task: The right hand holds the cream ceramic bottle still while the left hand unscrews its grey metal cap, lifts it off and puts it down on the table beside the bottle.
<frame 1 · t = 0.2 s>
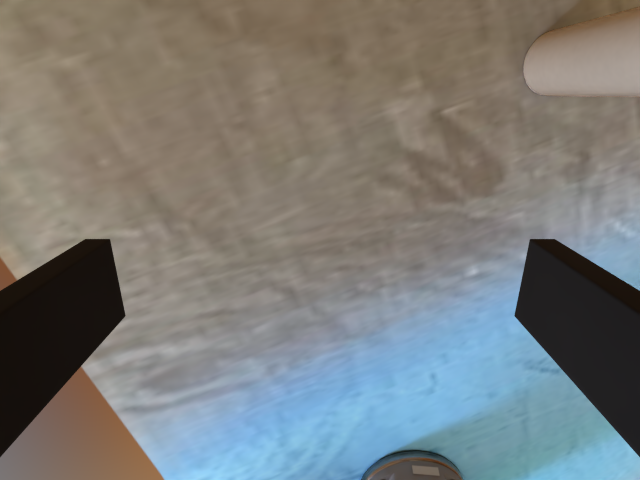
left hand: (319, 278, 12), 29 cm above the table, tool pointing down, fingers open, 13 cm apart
bottle: (554, 63, 37), on the table
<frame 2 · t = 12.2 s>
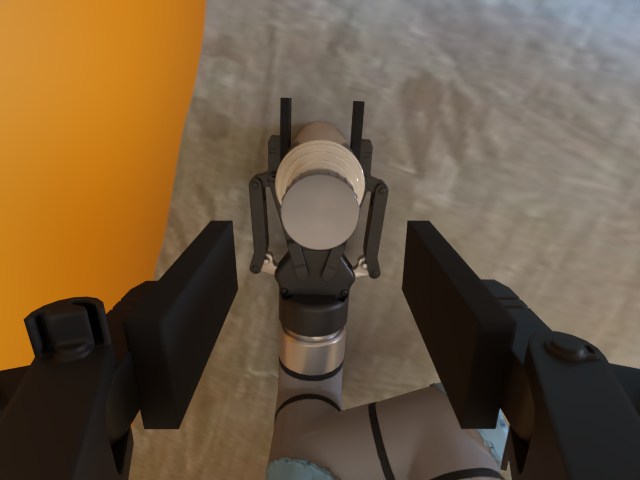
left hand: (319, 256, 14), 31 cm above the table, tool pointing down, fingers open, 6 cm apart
right hand: (322, 100, 35), fingers closed on bottle, 6 cm apart
bottle: (320, 149, 43), on the table, touching right hand
cap: (320, 211, 19), point 25 cm above the table, screwed on, not yet turned
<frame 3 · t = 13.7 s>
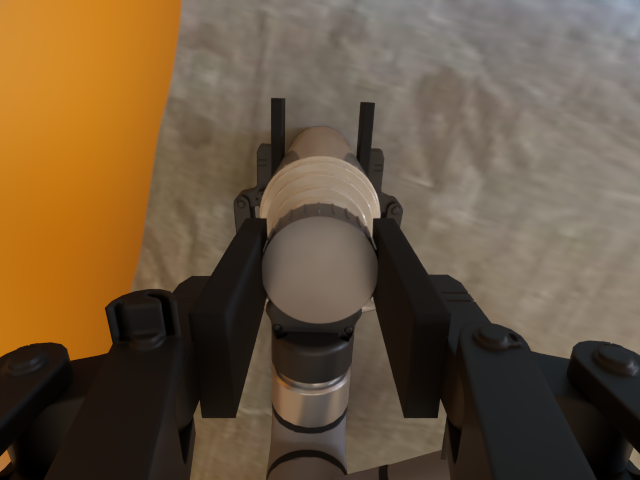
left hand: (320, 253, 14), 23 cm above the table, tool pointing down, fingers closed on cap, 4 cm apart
bottle: (319, 158, 36), on the table, touching right hand
cap: (319, 269, 13), point 25 cm above the table, screwed on, not yet turned, touching left hand
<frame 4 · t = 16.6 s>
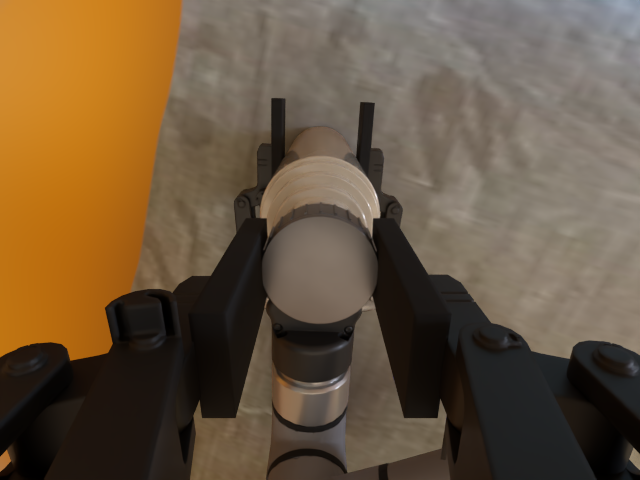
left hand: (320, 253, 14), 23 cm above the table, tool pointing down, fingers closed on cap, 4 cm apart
bottle: (319, 158, 36), on the table, touching right hand
cap: (319, 269, 13), point 25 cm above the table, turned 99° so far, risen 0.1 cm, still on its thread, touching left hand
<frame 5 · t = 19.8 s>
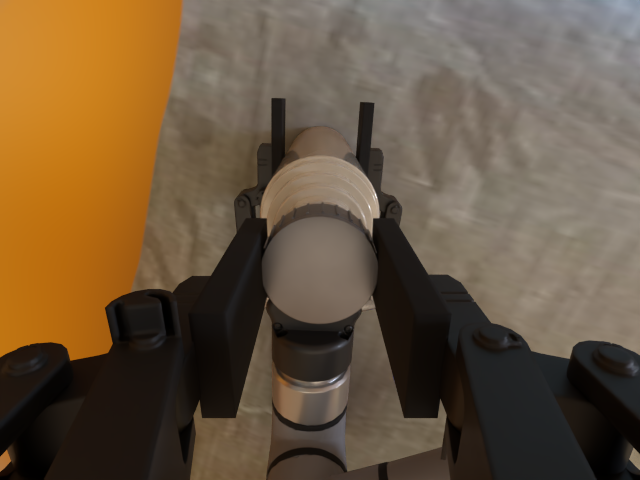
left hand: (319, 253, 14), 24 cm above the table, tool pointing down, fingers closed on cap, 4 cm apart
bottle: (319, 158, 36), on the table, touching right hand
cap: (319, 269, 13), point 25 cm above the table, turned 198° so far, risen 0.2 cm, still on its thread, touching left hand
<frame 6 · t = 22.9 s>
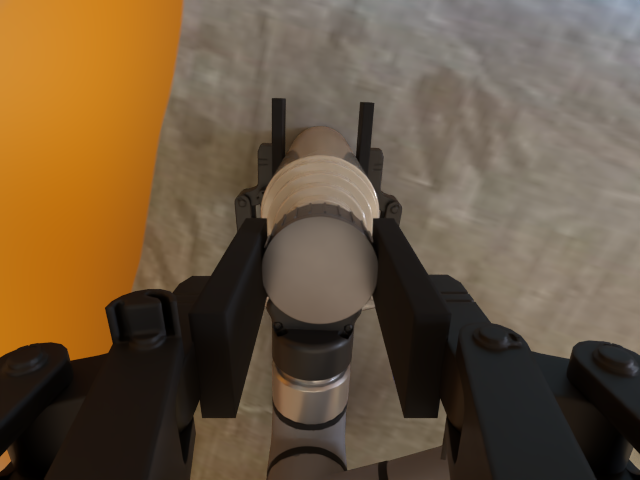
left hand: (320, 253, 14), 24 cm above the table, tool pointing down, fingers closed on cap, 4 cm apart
bottle: (320, 158, 37), on the table, touching right hand
cap: (320, 269, 13), point 25 cm above the table, turned 296° so far, risen 0.4 cm, still on its thread, touching left hand
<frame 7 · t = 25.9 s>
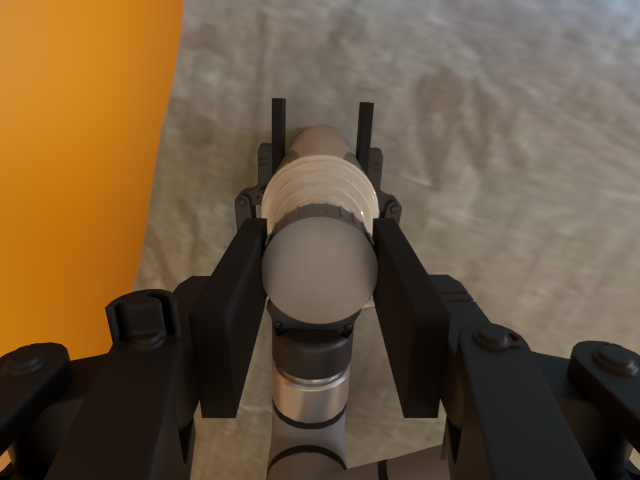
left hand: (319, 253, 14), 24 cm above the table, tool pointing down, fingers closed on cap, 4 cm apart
bottle: (319, 157, 37), on the table, touching right hand
cap: (319, 269, 13), point 25 cm above the table, turned 395° so far, risen 0.5 cm, still on its thread, touching left hand
when the left hand's fingers open (2 cm above the table, at t = 33.1 s): cap drops 2 cm, point 1 cm above the table.
when the right hand's fingers open (6 cm above the table, at t = 34.3 s): bottle stays where it is, on the table.
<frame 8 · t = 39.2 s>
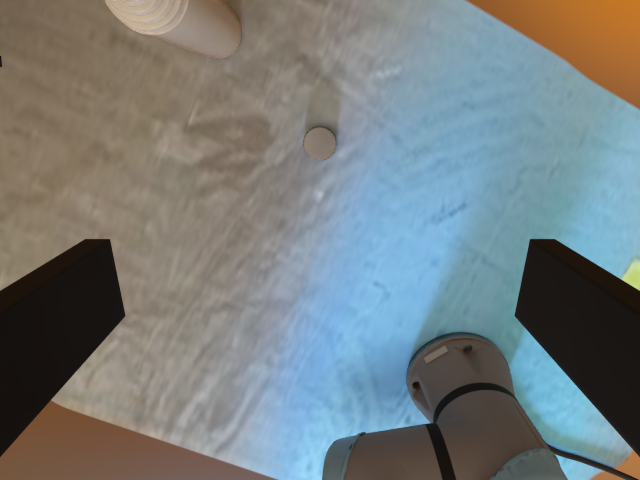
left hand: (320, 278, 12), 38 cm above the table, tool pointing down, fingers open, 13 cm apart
bottle: (215, 30, 44), on the table
cap: (319, 143, 47), point 1 cm above the table, off its thread
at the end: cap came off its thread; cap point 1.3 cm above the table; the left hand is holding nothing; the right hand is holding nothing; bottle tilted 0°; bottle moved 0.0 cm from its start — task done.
